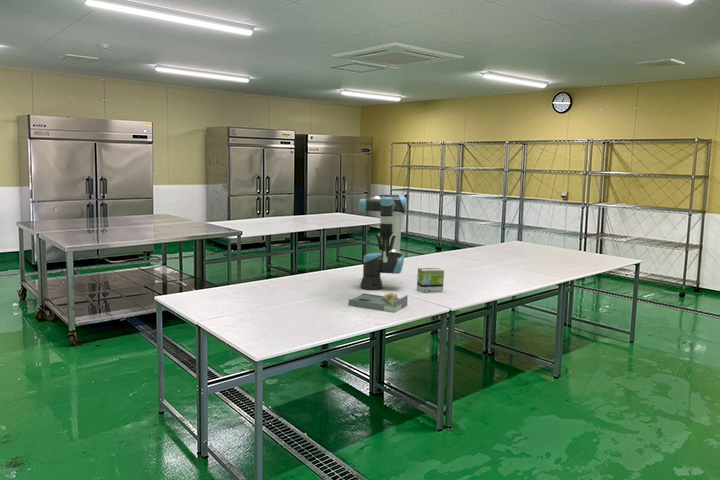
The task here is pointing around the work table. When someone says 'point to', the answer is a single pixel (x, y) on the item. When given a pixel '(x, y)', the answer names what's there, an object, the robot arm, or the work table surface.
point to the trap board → (377, 302)
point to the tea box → (430, 279)
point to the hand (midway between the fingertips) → (385, 261)
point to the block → (390, 298)
